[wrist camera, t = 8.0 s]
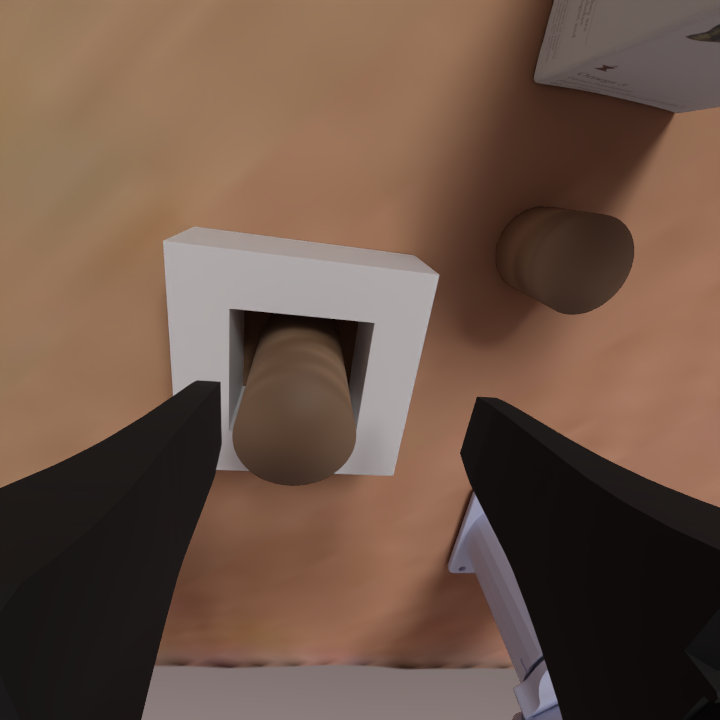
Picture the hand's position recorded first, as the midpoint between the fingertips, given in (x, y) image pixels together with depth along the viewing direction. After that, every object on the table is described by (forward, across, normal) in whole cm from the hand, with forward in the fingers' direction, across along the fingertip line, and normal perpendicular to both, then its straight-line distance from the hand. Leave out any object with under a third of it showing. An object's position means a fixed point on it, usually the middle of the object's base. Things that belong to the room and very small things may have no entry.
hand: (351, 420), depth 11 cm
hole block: (+9, +2, +2) cm, 10 cm away
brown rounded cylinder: (+9, +2, +2) cm, 10 cm away
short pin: (+10, -10, -4) cm, 14 cm away
